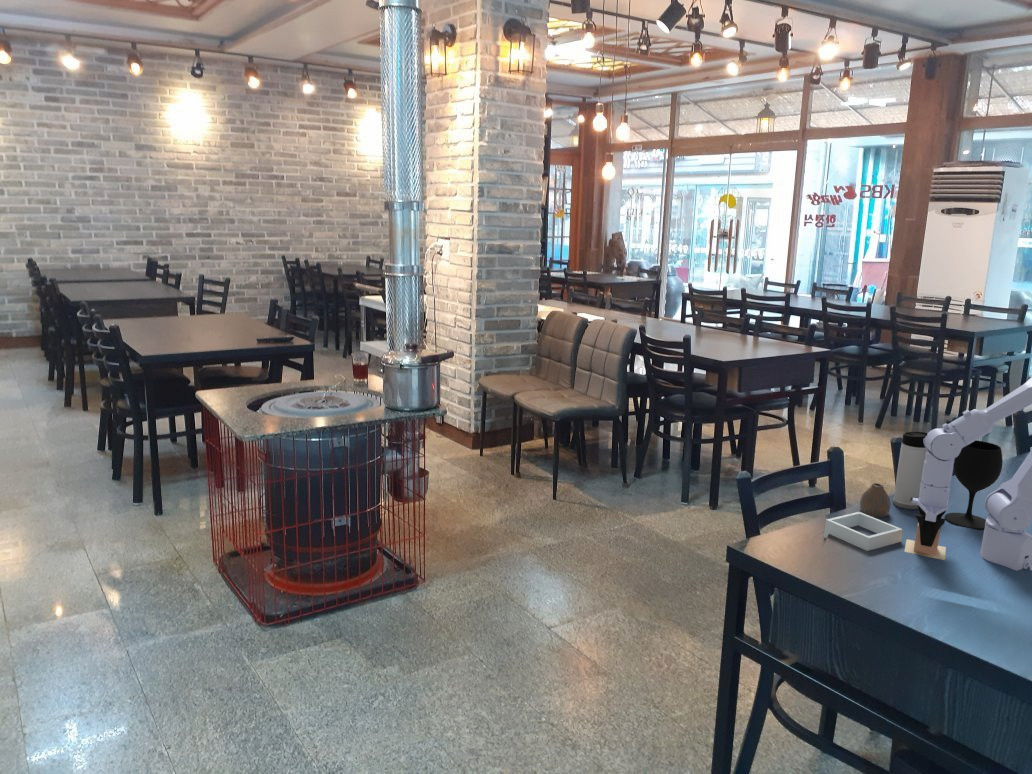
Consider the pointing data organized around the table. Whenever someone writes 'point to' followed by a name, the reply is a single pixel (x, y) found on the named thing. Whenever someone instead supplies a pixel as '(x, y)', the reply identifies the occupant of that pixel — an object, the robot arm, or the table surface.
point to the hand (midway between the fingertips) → (926, 541)
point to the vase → (875, 501)
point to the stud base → (940, 553)
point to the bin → (842, 530)
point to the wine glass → (975, 478)
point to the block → (926, 549)
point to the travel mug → (910, 470)
